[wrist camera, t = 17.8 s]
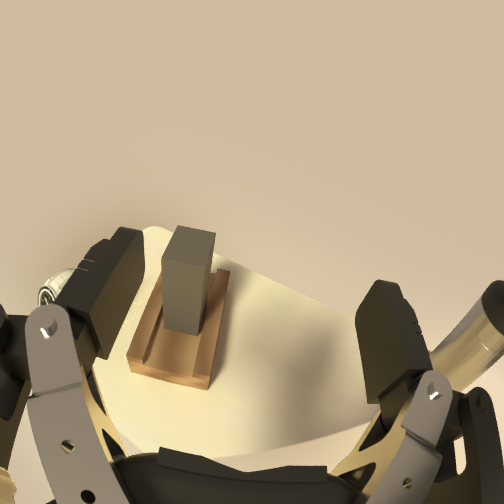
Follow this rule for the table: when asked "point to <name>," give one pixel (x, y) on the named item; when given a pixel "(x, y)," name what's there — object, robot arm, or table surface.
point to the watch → (53, 287)
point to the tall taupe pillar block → (186, 279)
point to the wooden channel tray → (178, 340)
